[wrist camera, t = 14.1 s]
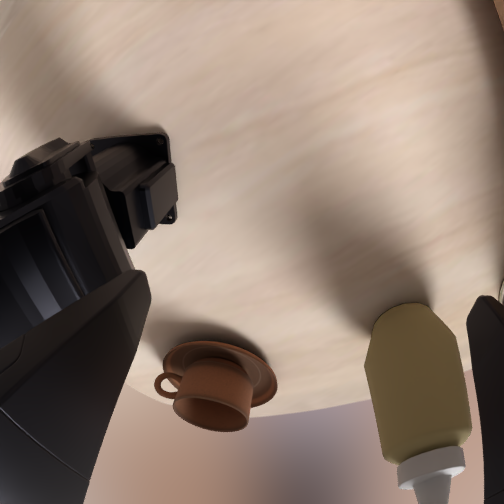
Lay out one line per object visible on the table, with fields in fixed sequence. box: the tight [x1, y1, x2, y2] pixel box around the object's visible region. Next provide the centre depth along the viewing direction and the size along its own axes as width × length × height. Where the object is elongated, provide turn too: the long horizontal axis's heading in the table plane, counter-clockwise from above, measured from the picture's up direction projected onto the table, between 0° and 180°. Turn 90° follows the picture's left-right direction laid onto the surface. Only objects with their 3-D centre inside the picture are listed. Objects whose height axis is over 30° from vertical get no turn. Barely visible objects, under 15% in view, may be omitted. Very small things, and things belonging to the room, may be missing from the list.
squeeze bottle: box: [364, 303, 472, 504], centre depth 17 cm, size 8×8×18 cm
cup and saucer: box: [154, 341, 277, 432], centre depth 29 cm, size 12×12×6 cm
